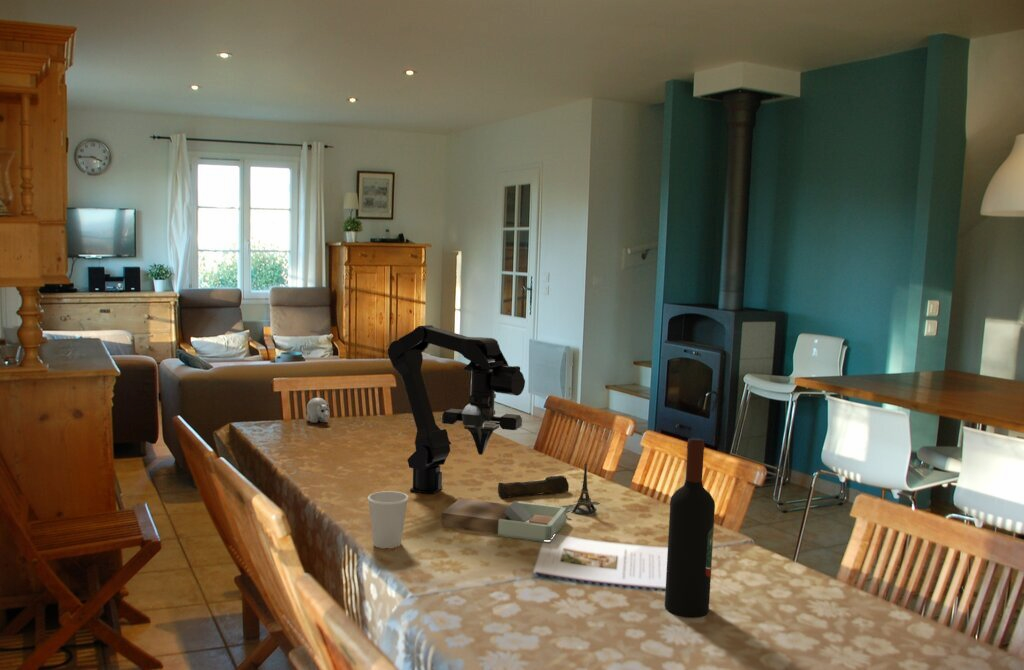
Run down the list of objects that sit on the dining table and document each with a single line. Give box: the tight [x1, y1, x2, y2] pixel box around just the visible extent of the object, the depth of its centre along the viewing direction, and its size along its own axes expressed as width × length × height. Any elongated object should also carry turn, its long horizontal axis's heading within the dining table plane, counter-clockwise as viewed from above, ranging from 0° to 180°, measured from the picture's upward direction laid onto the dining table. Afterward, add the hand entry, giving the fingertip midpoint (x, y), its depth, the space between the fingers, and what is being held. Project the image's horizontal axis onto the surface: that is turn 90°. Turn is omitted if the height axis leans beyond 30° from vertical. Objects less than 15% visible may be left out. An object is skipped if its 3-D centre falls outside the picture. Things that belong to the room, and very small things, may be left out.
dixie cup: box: [367, 490, 409, 549], centre depth 176 cm, size 8×8×10 cm
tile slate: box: [504, 499, 531, 522], centre depth 190 cm, size 5×5×2 cm
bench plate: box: [440, 498, 511, 535], centre depth 192 cm, size 14×12×3 cm
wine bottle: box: [664, 437, 716, 619], centre depth 148 cm, size 8×8×30 cm
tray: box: [497, 501, 567, 543], centre depth 189 cm, size 12×15×4 cm
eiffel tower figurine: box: [559, 462, 601, 521], centre depth 204 cm, size 15×10×13 cm
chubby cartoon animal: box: [306, 397, 331, 424], centre depth 294 cm, size 7×12×8 cm, turn 34°
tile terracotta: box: [529, 515, 553, 525], centre depth 188 cm, size 5×5×2 cm
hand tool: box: [497, 475, 570, 499], centre depth 216 cm, size 19×4×5 cm, turn 109°
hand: (480, 454), depth 206 cm, fingers closed
